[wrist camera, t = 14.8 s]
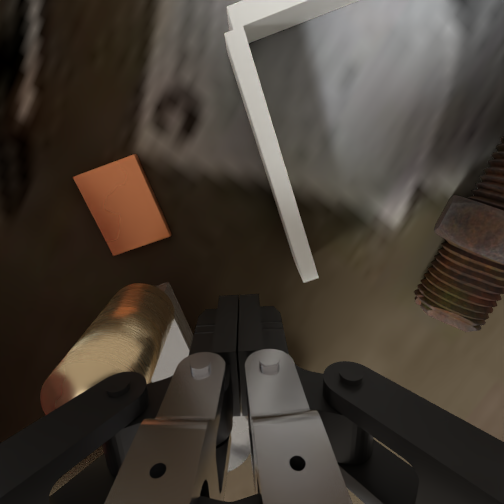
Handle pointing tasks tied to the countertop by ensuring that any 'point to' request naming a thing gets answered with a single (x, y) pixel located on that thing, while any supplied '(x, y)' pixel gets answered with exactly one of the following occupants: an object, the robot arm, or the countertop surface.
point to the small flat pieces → (123, 204)
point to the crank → (133, 351)
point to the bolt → (469, 254)
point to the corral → (237, 44)
